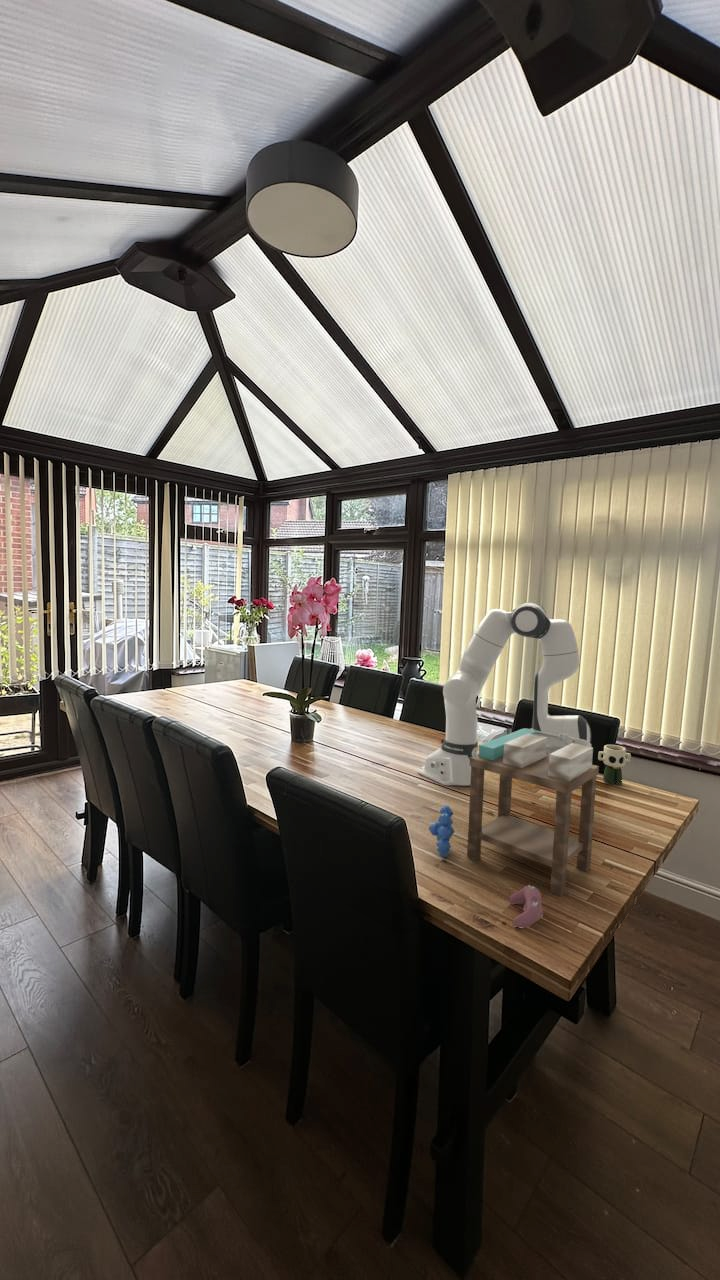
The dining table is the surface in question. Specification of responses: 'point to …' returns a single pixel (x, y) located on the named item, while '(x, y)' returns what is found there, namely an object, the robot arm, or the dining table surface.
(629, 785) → the dining table surface
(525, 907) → the video game controller
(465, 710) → the robot arm
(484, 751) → the module bar
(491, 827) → the shelf
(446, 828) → the grapes
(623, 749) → the character mug
